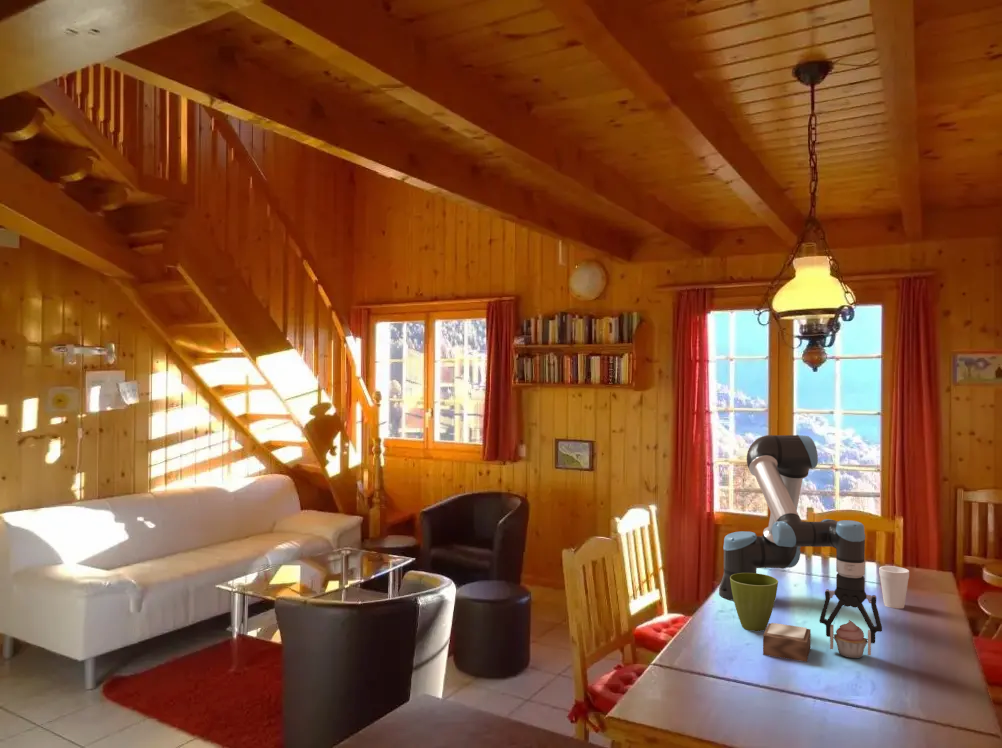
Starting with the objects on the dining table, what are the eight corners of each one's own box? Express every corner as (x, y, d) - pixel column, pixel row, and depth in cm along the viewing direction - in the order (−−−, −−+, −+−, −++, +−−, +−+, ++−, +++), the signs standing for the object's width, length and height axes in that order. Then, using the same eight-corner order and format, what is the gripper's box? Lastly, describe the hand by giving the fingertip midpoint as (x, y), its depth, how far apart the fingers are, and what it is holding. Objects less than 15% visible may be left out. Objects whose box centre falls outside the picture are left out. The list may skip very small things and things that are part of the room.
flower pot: (782, 637, 231) (781, 586, 231) (732, 634, 234) (732, 583, 234) (774, 621, 245) (774, 574, 245) (727, 618, 248) (727, 571, 248)
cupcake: (849, 646, 222) (849, 613, 222) (875, 657, 213) (875, 623, 213) (825, 650, 218) (825, 617, 218) (850, 662, 210) (850, 627, 210)
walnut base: (763, 654, 216) (763, 633, 216) (768, 641, 227) (768, 621, 227) (806, 661, 211) (806, 640, 211) (810, 648, 221) (810, 627, 222)
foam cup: (906, 611, 256) (906, 574, 256) (877, 606, 261) (877, 570, 261) (910, 604, 263) (910, 568, 263) (882, 600, 269) (882, 564, 269)
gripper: (808, 572, 217) (808, 648, 217) (892, 582, 207) (892, 661, 207) (811, 566, 224) (811, 640, 224) (892, 576, 214) (892, 652, 214)
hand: (850, 650), depth 216 cm, fingers closed on cupcake, 9 cm apart
